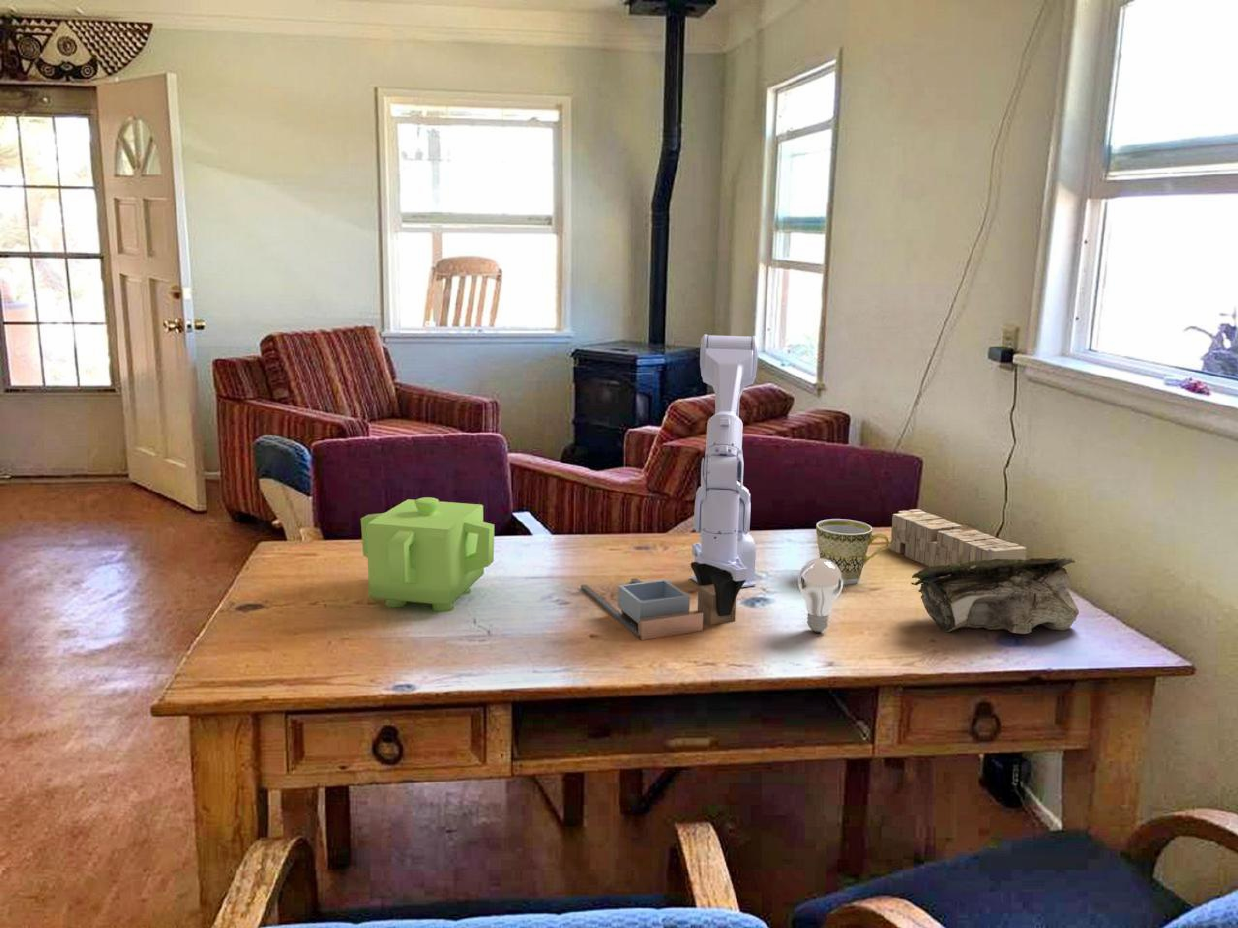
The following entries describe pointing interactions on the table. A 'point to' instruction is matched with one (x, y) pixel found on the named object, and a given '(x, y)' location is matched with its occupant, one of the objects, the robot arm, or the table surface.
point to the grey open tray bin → (651, 599)
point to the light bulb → (819, 590)
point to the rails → (654, 620)
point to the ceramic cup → (846, 545)
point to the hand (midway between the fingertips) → (716, 609)
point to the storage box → (426, 551)
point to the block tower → (946, 541)
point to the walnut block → (712, 606)
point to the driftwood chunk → (999, 594)
